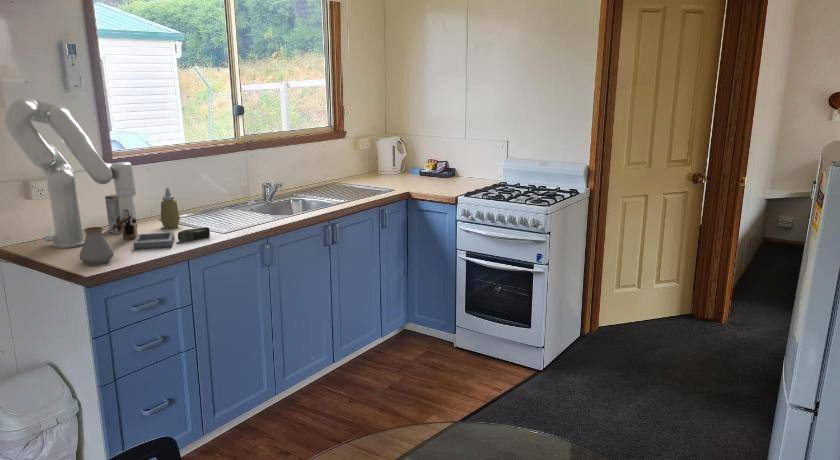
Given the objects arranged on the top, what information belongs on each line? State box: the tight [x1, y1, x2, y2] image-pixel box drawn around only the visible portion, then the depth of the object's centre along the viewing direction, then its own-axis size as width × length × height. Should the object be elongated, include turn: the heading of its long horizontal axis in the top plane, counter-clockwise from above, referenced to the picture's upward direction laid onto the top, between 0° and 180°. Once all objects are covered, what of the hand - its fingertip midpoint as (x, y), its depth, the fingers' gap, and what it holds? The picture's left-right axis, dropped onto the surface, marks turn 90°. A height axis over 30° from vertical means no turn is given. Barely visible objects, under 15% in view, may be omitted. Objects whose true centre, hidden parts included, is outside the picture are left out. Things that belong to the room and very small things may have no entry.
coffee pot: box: [79, 216, 134, 266], centre depth 233 cm, size 21×12×15 cm, turn 145°
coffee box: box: [104, 193, 124, 235], centre depth 272 cm, size 9×6×16 cm
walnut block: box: [121, 222, 138, 241], centre depth 262 cm, size 5×5×6 cm
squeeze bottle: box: [160, 187, 181, 229], centre depth 279 cm, size 8×8×18 cm
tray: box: [132, 231, 175, 251], centre depth 253 cm, size 14×14×3 cm
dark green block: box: [176, 227, 211, 245], centre depth 260 cm, size 5×3×15 cm
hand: (131, 231), depth 262 cm, fingers open, 9 cm apart
